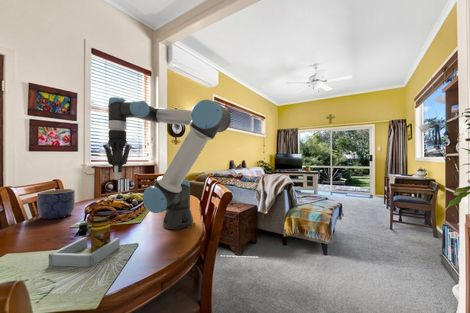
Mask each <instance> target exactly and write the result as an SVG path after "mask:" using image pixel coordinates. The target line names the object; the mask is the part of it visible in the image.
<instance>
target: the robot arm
mask: <svg viewBox="0 0 470 313" xmlns="http://www.w3.org/2000/svg"><path fill="white" fill-rule="evenodd" d="M107 107H108V110H107V111H108V123H107V124H108V126H107V127H108V137H107V138H108V141H107V143H106V144H103V145H102V147H103V148H104V151H105V156H106V159H107V162H108V165H110V166H112V173H114V177H113V178H114V180H117V181H118V180H121V177H122V176H121V175H122V173H123V166H125V165H127V163H128V159H129V156H130V155H129V154H130V150H131V149H132V147H133V146H132V144H129V143H128V141H127V119H128V118H130V119H131V118H136V119H139V120H144V121H148V122H151V123H157V124H159V123H163V124H169V125H170V124H173V125H180V126H188V127H189V131H188V133H187V135H186V137H185V138H184V140H183V142H181V145H180V146H179V148H178V150H177V152H176V153H175V155H174V156H173V158H172V160H171V162H170V164H169V165H168V166H167V168H166V170H165V172H164V173H163V175H161V176H158V177H157V179H156V180H155V182H153V185H151V186H149V187H147V188H146V189H144V191H143V194H142V201H143V205H144V207H145V208H146V209H147V211H148V212H151V213H153V214H159V213H163V212H165V215H164V218H163V221H162V227H163V228H164V229H166V230H167V229H168V230H182V229H181V228H183V229H186V228H185V227H187V228H189V226H190V227H191V225H192V224H193V225H194V217H193V214H192V210H191V182H190V181H189V180H187V179H186V177H187V175H188V174H189V173H190V171H191V169H192V168H193V166H194V164H195V162H196V160H197V159H198V158H199V155H200V154H201V153H202V151H203V149H204V148H205V147H206V144H207V143H208V141H211V140H214V138H215V137H216V135H217V134H218V133H223V132H225V131H226V130H228V129H229V127H230V126H231V123H232V117H231V114H230V112H229V111H228V110H227V108H225V107H224V106H222V105H220V104H219V102H216V101H214V100H211V99H203V100H200V101H198V102H197V103H195V104H194V106H192V110H191V109H190V110H189V109H177V108H168V107H165V108H164V107H154V106H150V105H149V104H148V103H147V102H146V101H144V100H138V99H136V100H131V101H130V100H128V101H127V100H126V99H125V98H124V97H119V96H118V97H117V96H113V97H110V98H109V99H108V106H107ZM193 225H192V226H193Z"/></svg>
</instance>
